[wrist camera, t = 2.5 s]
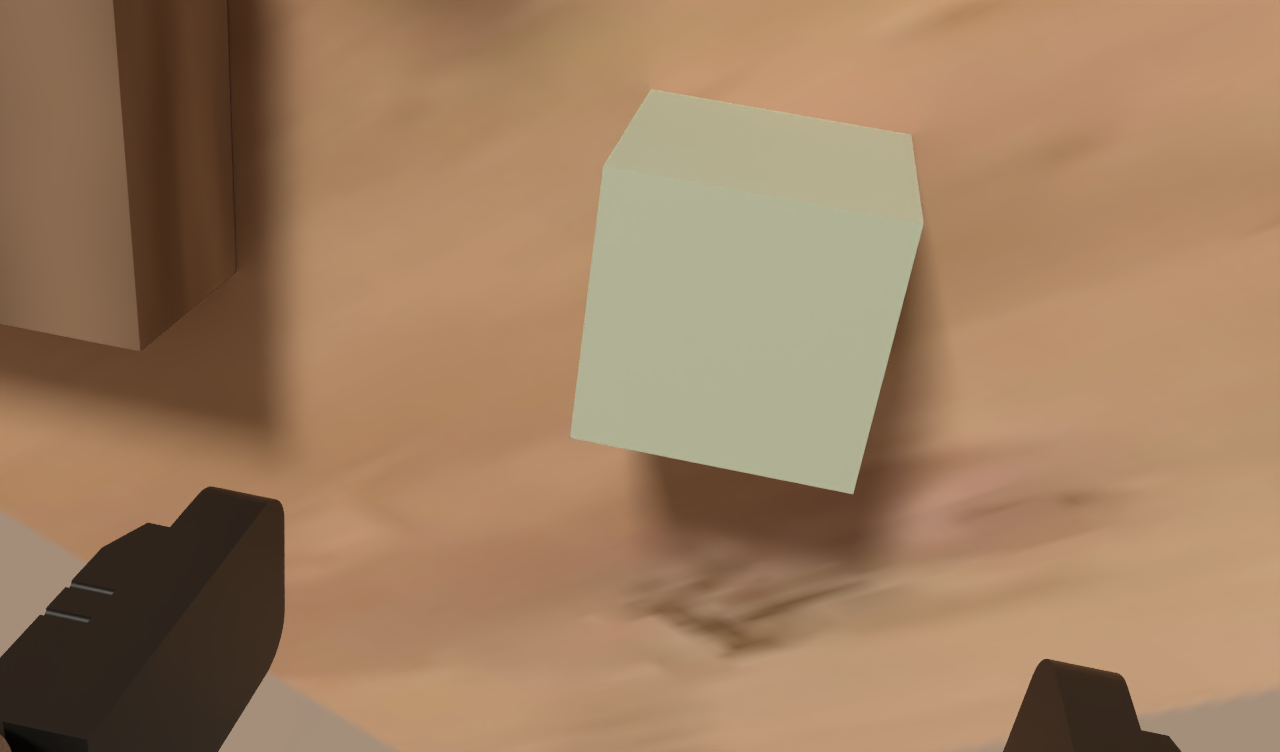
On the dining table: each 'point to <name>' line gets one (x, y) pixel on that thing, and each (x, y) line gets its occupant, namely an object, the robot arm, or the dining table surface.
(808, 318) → the sage green cube
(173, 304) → the walnut block
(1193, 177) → the dining table surface
